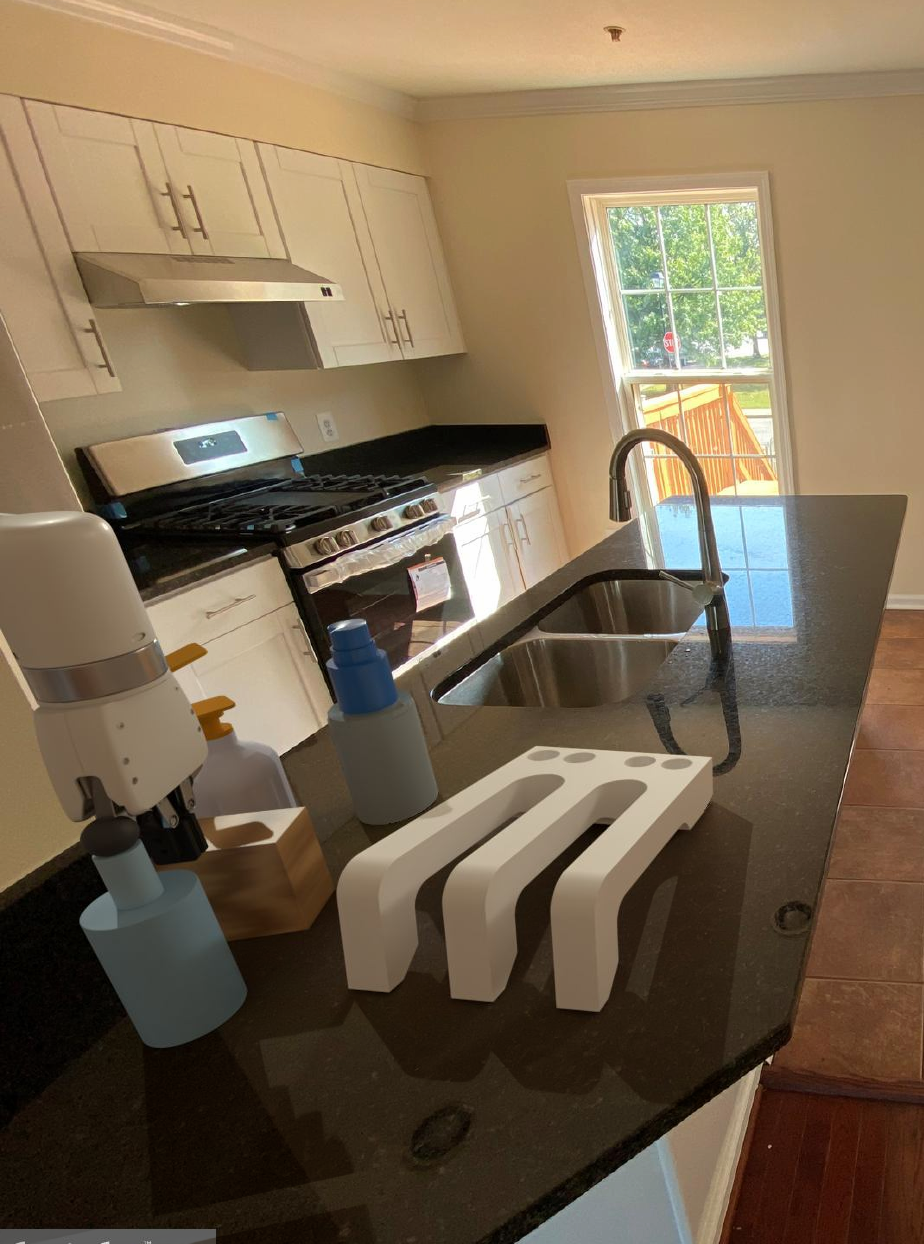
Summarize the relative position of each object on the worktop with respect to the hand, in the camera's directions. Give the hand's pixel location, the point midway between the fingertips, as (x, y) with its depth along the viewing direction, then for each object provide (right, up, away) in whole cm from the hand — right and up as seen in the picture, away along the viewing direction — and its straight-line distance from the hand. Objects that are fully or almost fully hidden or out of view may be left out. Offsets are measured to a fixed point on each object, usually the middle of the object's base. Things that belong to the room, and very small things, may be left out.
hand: (182, 857), depth 63 cm
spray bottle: (0, -2, +29) cm, 29 cm away
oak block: (-2, -10, +11) cm, 14 cm away
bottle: (0, -13, +3) cm, 13 cm away
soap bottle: (-13, -5, +22) cm, 26 cm away
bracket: (+26, -8, +17) cm, 32 cm away
